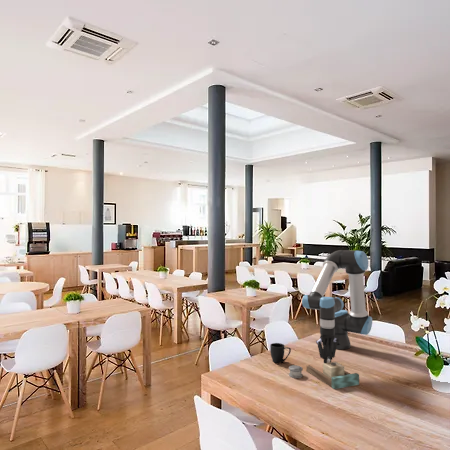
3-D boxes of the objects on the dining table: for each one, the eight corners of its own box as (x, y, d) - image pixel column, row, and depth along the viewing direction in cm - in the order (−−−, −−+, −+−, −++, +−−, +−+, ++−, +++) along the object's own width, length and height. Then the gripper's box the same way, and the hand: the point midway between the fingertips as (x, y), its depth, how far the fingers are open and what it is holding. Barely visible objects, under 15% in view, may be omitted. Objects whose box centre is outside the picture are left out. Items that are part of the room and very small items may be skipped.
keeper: (335, 374, 193) (335, 360, 193) (344, 379, 187) (344, 364, 187) (323, 376, 191) (322, 362, 191) (331, 382, 184) (331, 367, 184)
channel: (329, 367, 204) (329, 358, 204) (359, 384, 182) (359, 374, 182) (306, 371, 199) (306, 361, 199) (334, 389, 176) (334, 378, 176)
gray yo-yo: (298, 372, 198) (297, 364, 198) (305, 377, 191) (305, 369, 191) (286, 374, 195) (286, 366, 195) (293, 379, 188) (293, 371, 189)
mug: (288, 366, 206) (288, 349, 206) (268, 362, 212) (268, 346, 212) (292, 361, 213) (292, 345, 214) (273, 358, 219) (273, 342, 219)
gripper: (333, 323, 199) (333, 367, 199) (312, 326, 195) (312, 370, 195) (342, 327, 192) (342, 372, 192) (321, 329, 188) (321, 375, 188)
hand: (327, 371), depth 193 cm, fingers closed
